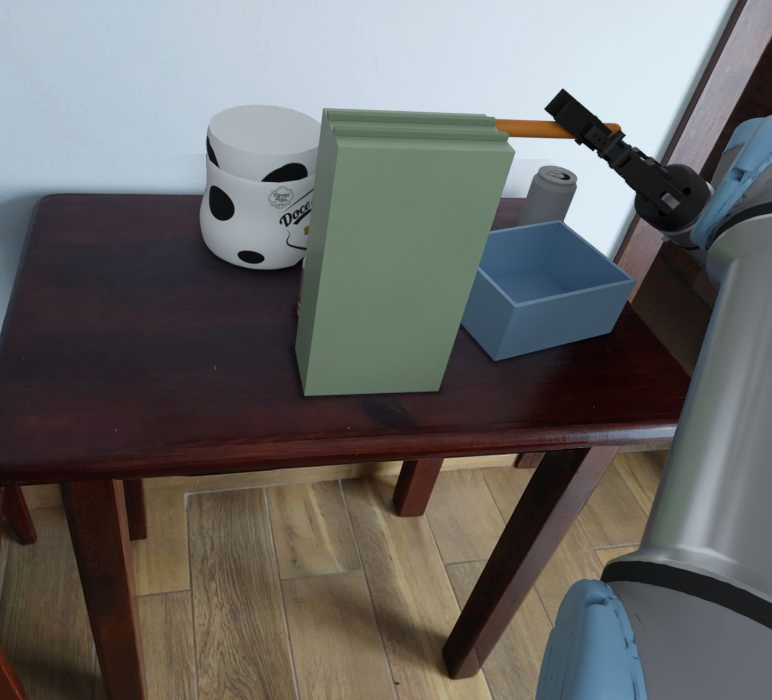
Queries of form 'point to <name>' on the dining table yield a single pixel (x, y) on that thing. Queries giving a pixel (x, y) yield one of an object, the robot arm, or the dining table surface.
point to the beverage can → (548, 196)
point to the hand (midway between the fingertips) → (559, 104)
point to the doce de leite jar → (259, 186)
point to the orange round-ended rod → (540, 129)
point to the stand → (394, 245)
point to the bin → (542, 290)
